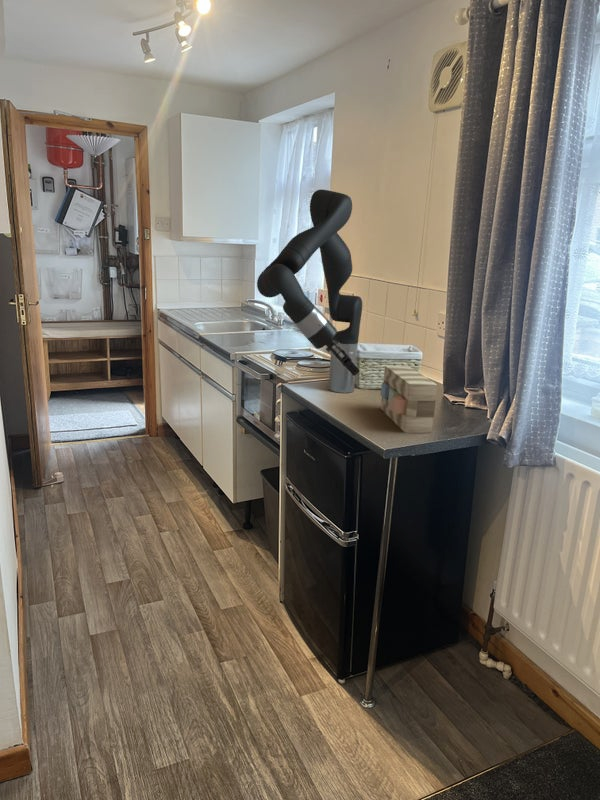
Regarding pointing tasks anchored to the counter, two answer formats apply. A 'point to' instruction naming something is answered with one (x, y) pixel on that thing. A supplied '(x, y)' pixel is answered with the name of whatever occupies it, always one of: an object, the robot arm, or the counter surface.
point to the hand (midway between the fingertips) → (356, 373)
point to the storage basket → (383, 362)
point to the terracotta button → (398, 404)
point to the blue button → (385, 390)
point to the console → (411, 399)
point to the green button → (392, 394)
